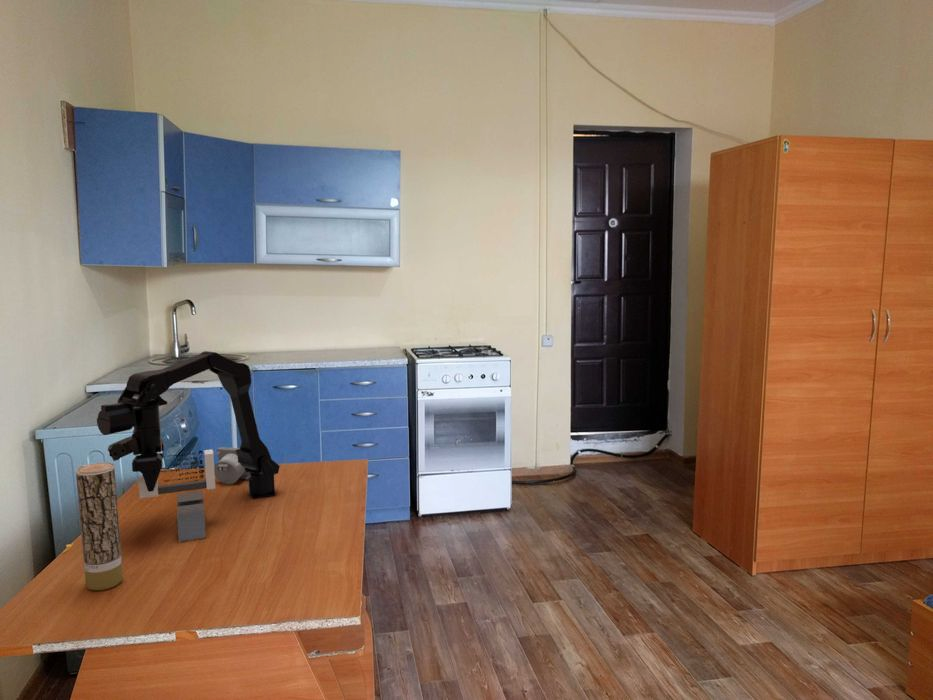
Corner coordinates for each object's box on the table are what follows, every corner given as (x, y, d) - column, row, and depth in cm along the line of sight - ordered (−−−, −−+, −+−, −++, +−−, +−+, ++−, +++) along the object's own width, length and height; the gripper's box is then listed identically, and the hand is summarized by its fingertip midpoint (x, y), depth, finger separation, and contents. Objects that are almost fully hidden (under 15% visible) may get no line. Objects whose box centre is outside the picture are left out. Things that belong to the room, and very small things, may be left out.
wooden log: (107, 593, 134) (97, 474, 130) (78, 590, 135) (67, 471, 132) (130, 577, 140) (121, 463, 137) (102, 574, 142) (93, 461, 138)
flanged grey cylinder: (251, 472, 208) (250, 442, 207) (256, 484, 198) (254, 452, 197) (158, 484, 198) (156, 452, 196) (158, 497, 187) (156, 463, 186)
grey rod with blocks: (214, 483, 169) (212, 449, 168) (215, 488, 165) (213, 453, 164) (140, 493, 162) (137, 457, 161) (139, 498, 159) (137, 462, 157)
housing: (203, 514, 175) (202, 490, 174) (205, 538, 160) (204, 512, 159) (179, 518, 172) (177, 494, 171) (178, 542, 158) (177, 516, 157)
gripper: (112, 420, 164) (117, 480, 167) (104, 439, 147) (109, 506, 150) (162, 416, 169) (166, 475, 171) (159, 434, 152) (164, 499, 154)
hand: (151, 488), depth 161 cm, fingers closed on grey rod with blocks, 4 cm apart
